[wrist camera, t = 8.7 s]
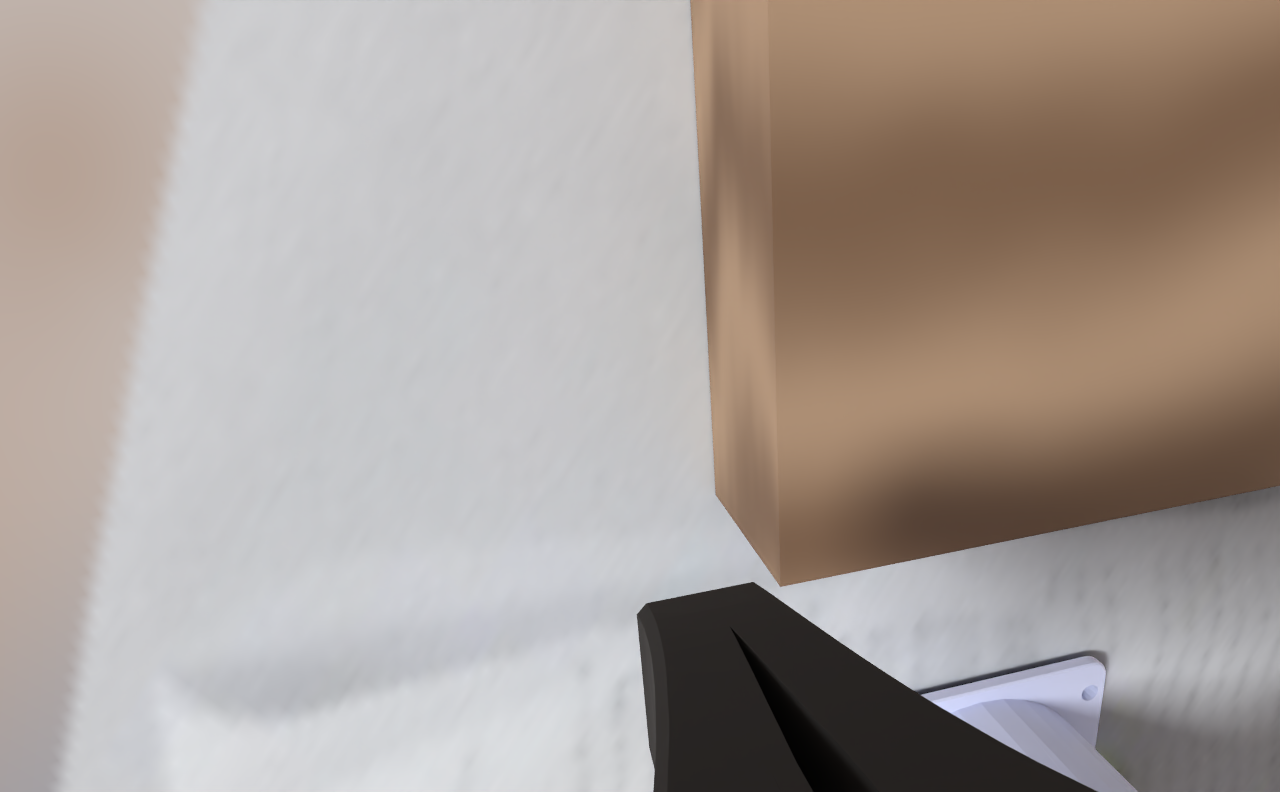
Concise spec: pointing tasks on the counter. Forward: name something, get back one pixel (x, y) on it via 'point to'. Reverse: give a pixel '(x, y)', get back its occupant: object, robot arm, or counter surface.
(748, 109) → the wooden block
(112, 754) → the counter surface
